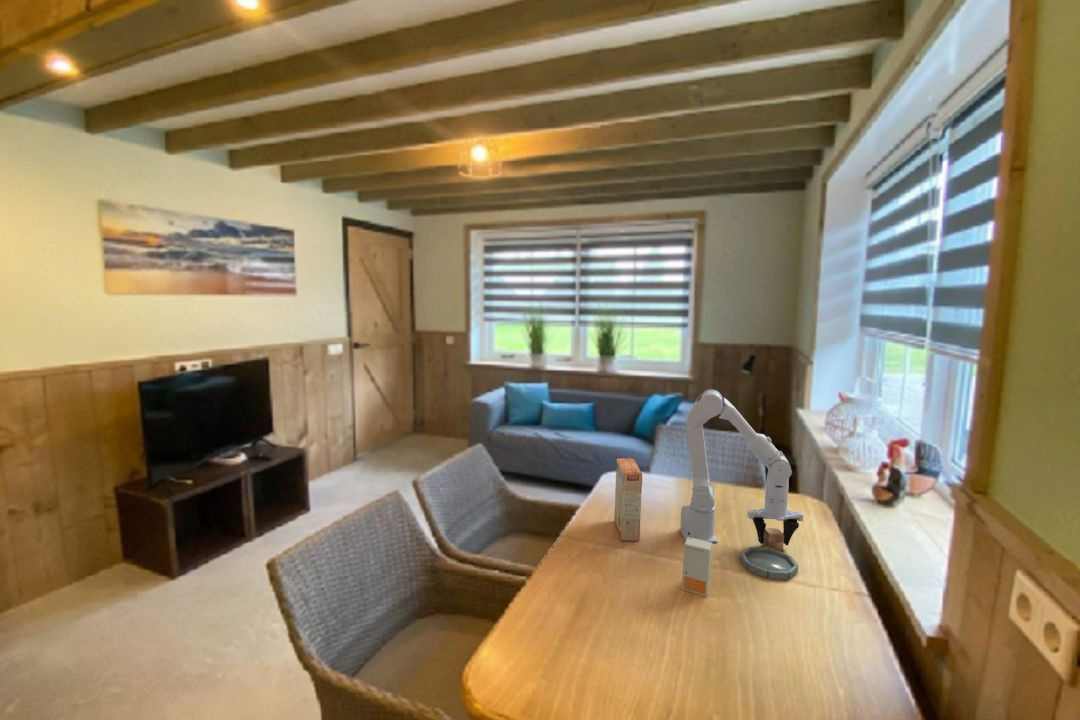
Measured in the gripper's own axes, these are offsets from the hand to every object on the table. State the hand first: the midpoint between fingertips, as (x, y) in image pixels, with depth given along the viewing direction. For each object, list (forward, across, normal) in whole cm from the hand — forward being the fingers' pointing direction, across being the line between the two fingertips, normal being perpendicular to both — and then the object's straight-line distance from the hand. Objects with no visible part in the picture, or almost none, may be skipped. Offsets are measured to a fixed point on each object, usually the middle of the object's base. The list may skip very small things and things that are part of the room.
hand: (773, 543), depth 136 cm
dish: (+1, -5, -10) cm, 11 cm away
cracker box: (+2, -41, +6) cm, 41 cm away
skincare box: (+2, -27, -23) cm, 36 cm away
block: (+2, 0, 0) cm, 2 cm away
